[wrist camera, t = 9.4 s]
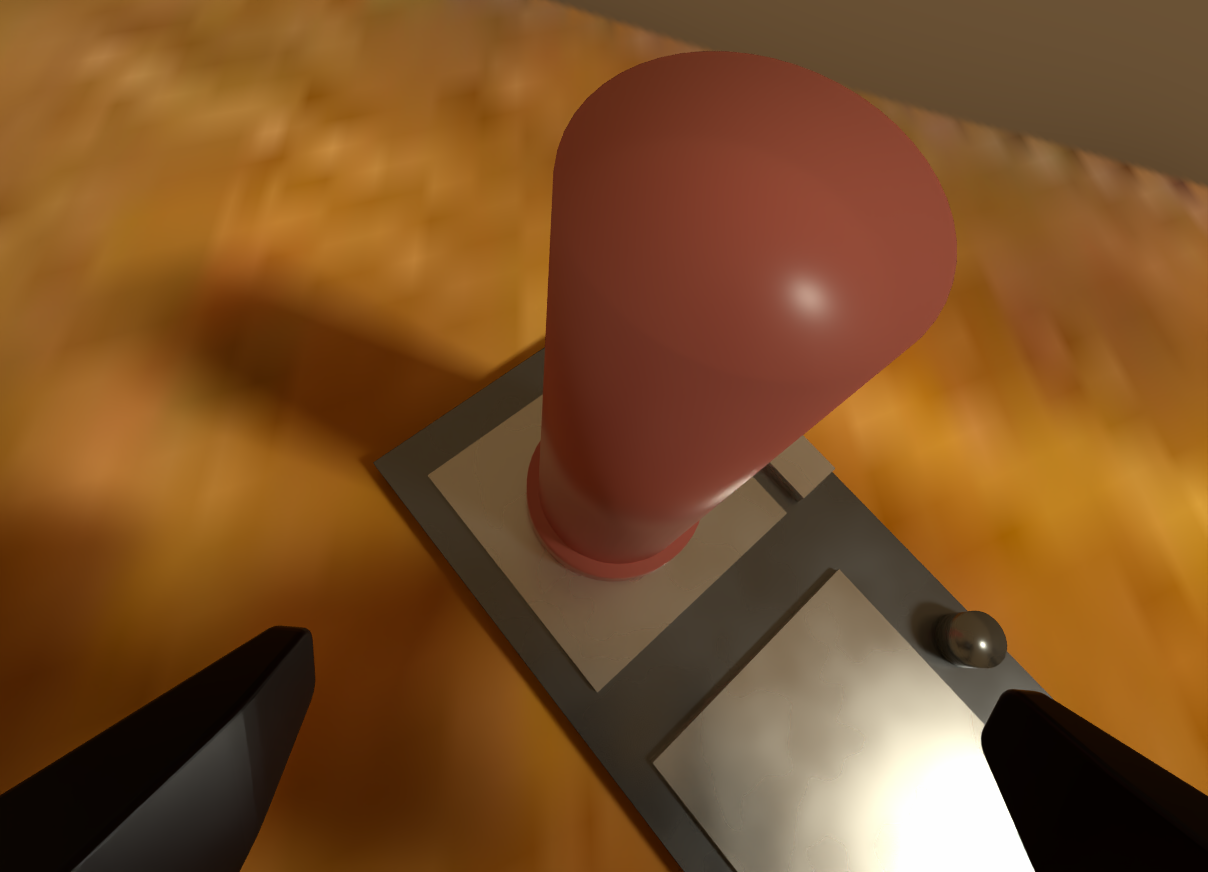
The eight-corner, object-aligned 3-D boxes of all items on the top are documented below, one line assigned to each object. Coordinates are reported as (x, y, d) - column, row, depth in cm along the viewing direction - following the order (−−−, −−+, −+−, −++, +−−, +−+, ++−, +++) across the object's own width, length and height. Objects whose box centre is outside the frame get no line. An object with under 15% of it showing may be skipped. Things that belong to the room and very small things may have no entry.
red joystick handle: (670, 605, 15) (973, 488, 5) (501, 548, 15) (440, 310, 5) (710, 447, 17) (995, 112, 6) (559, 396, 17) (604, -18, 6)
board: (1238, 1598, 11) (1338, 1730, 9) (378, 469, 16) (364, 453, 15) (1410, 1086, 14) (1501, 1130, 12) (641, 291, 19) (650, 264, 18)
